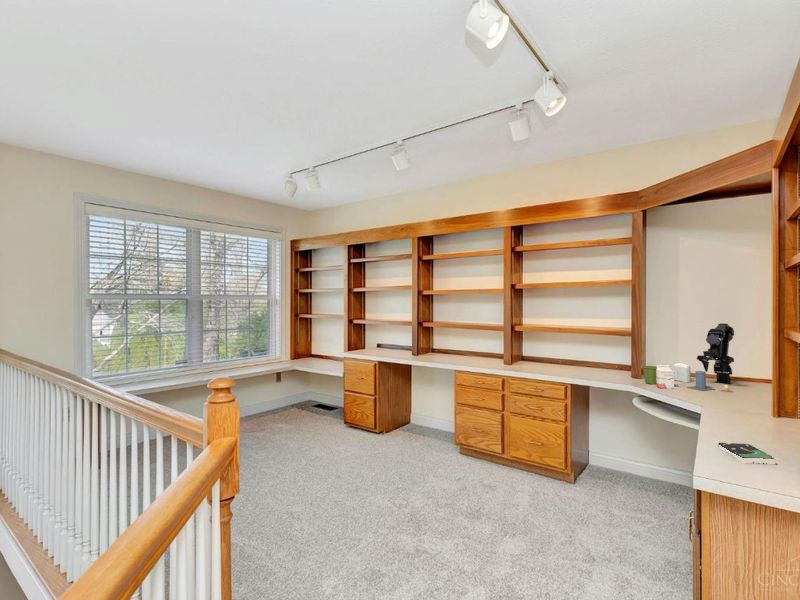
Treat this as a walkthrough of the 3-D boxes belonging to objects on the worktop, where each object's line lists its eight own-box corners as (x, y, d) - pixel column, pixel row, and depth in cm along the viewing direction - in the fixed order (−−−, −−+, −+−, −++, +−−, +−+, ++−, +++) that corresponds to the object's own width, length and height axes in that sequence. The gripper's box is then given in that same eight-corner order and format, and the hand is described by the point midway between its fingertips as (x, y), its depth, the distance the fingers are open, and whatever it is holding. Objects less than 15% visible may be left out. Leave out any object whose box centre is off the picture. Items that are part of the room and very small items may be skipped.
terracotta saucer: (716, 392, 241) (715, 384, 241) (725, 391, 242) (724, 383, 242) (728, 394, 234) (728, 386, 234) (737, 393, 236) (736, 385, 236)
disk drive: (717, 449, 153) (742, 464, 139) (717, 442, 153) (742, 456, 139) (748, 451, 151) (777, 466, 136) (748, 443, 151) (776, 458, 136)
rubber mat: (687, 389, 250) (686, 387, 250) (699, 388, 253) (699, 385, 253) (702, 392, 241) (702, 390, 241) (715, 391, 243) (715, 388, 243)
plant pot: (666, 384, 266) (666, 367, 266) (651, 385, 264) (651, 368, 264) (651, 381, 278) (651, 365, 278) (637, 382, 275) (636, 366, 275)
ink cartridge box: (659, 388, 255) (658, 365, 255) (656, 387, 259) (655, 364, 260) (674, 388, 253) (673, 365, 253) (671, 387, 258) (670, 364, 258)
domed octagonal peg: (694, 387, 250) (693, 371, 250) (702, 387, 249) (702, 371, 249) (699, 388, 245) (698, 372, 245) (708, 388, 244) (707, 372, 244)
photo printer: (692, 382, 270) (691, 364, 271) (687, 382, 269) (686, 364, 269) (677, 379, 280) (676, 362, 280) (672, 380, 279) (672, 362, 279)
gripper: (692, 345, 262) (690, 368, 258) (723, 344, 244) (722, 369, 241) (703, 349, 265) (701, 372, 262) (735, 349, 248) (733, 373, 245)
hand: (714, 372), depth 252 cm, fingers open, 9 cm apart
